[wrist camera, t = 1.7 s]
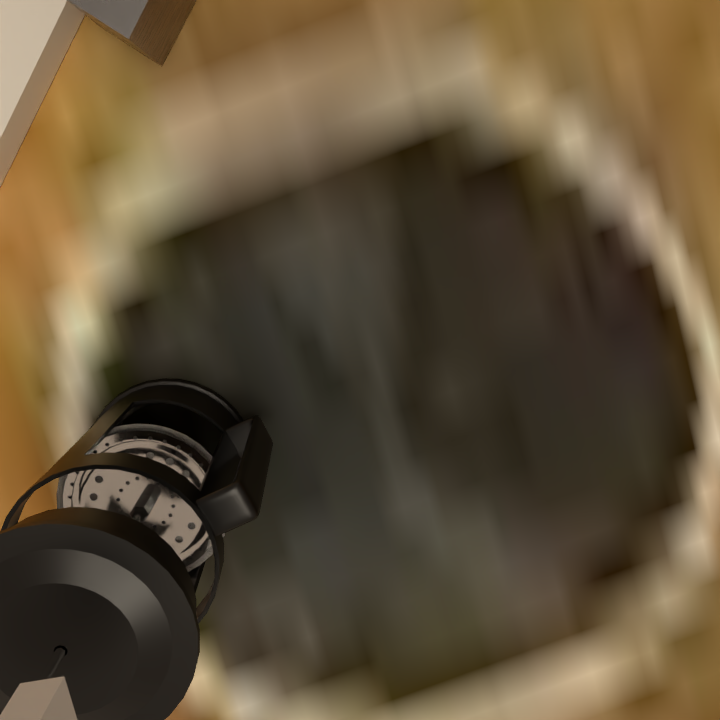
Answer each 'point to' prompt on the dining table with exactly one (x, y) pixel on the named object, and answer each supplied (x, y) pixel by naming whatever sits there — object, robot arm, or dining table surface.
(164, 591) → the french press
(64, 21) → the table-top board
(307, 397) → the dining table surface
